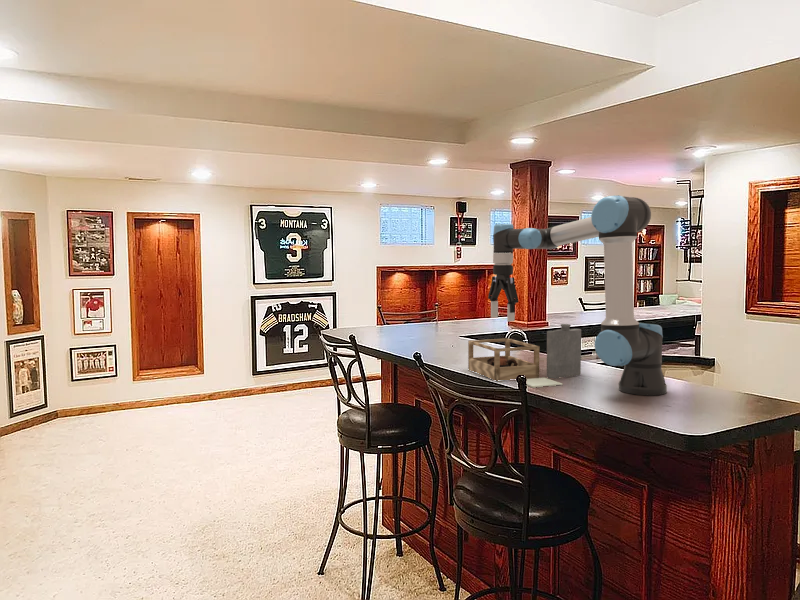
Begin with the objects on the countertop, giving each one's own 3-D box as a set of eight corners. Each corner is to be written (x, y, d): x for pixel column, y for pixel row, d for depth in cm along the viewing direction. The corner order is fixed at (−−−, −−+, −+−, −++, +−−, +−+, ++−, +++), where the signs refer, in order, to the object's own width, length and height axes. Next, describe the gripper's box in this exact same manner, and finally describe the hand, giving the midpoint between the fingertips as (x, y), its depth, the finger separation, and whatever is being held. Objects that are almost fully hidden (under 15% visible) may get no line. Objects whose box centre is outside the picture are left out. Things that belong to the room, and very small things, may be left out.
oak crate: (539, 378, 231) (539, 346, 230) (496, 381, 225) (496, 349, 225) (508, 367, 254) (508, 338, 253) (468, 370, 248) (468, 340, 247)
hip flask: (576, 373, 240) (577, 322, 239) (584, 375, 237) (584, 323, 235) (544, 377, 233) (545, 324, 231) (552, 379, 229) (552, 325, 228)
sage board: (562, 385, 218) (562, 383, 218) (532, 387, 214) (532, 386, 214) (544, 379, 230) (544, 377, 230) (515, 381, 226) (515, 379, 226)
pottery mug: (488, 378, 234) (483, 358, 238) (491, 384, 243) (486, 365, 246) (519, 371, 232) (514, 350, 236) (521, 377, 241) (516, 357, 244)
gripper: (528, 265, 226) (527, 322, 228) (496, 263, 250) (496, 315, 251) (510, 265, 224) (509, 323, 225) (479, 263, 247) (479, 316, 249)
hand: (502, 319), depth 238 cm, fingers open, 13 cm apart
